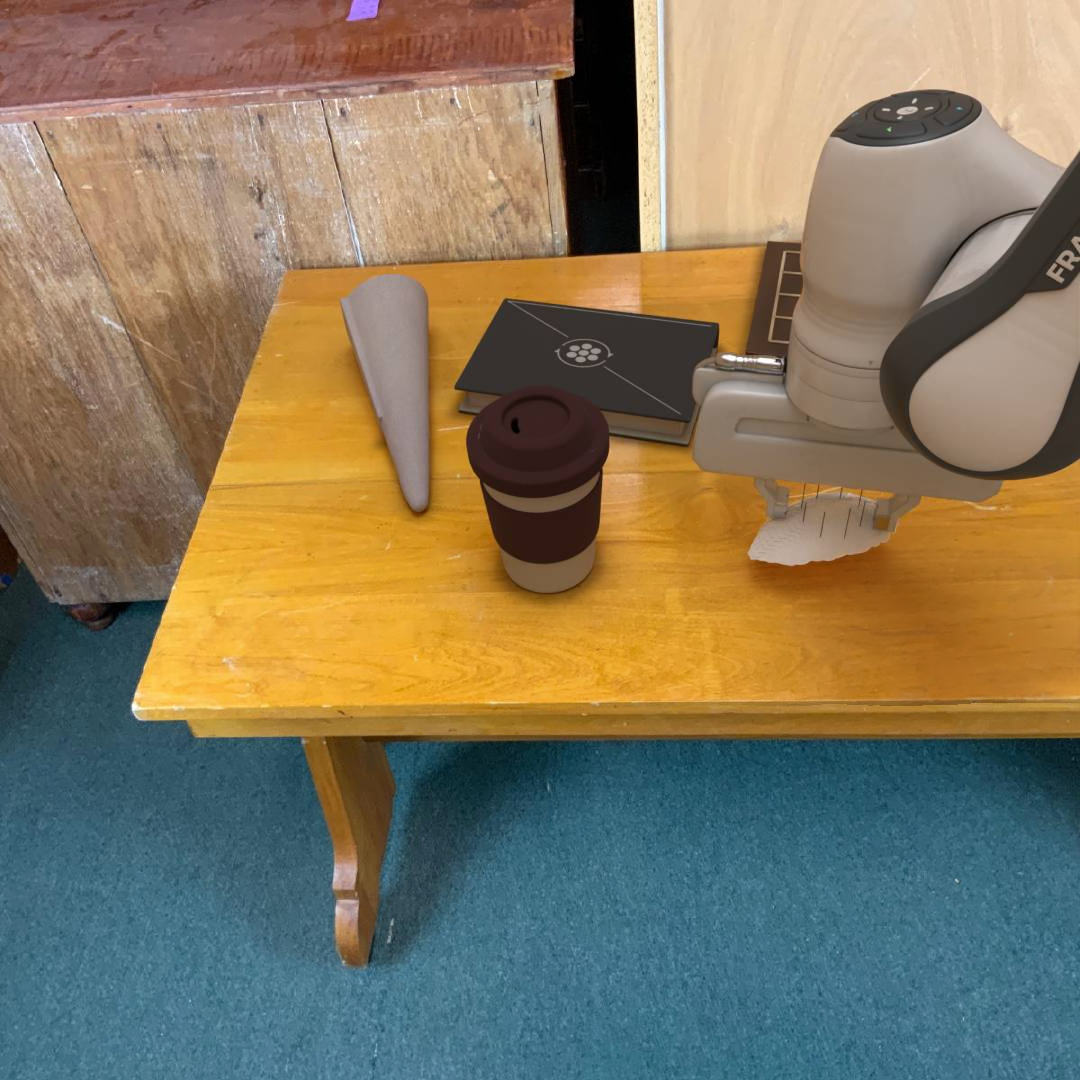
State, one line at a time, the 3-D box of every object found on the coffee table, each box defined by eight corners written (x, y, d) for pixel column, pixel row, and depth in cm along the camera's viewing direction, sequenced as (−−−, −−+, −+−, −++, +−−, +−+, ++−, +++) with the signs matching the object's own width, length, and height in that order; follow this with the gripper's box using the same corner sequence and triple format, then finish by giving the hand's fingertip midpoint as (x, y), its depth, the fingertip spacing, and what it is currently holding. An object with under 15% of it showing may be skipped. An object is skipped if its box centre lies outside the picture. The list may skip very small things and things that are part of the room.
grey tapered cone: (505, 455, 78) (423, 265, 92) (402, 483, 76) (335, 285, 91) (509, 514, 84) (431, 327, 98) (413, 540, 82) (349, 346, 97)
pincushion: (765, 591, 69) (772, 537, 65) (732, 533, 73) (736, 479, 69) (918, 550, 70) (934, 495, 66) (877, 495, 74) (889, 440, 70)
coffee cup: (631, 535, 77) (631, 388, 66) (580, 626, 71) (570, 481, 60) (522, 502, 80) (504, 357, 69) (464, 586, 75) (435, 442, 63)
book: (718, 347, 93) (720, 321, 91) (688, 447, 83) (690, 421, 81) (507, 321, 98) (505, 295, 96) (457, 412, 89) (453, 387, 87)
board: (961, 265, 99) (965, 253, 98) (967, 384, 86) (971, 373, 86) (766, 250, 104) (767, 239, 103) (744, 362, 91) (745, 350, 90)
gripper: (685, 380, 60) (681, 531, 70) (1037, 412, 55) (978, 569, 65) (700, 323, 64) (694, 473, 74) (1029, 348, 59) (975, 505, 70)
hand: (829, 518), depth 70 cm, fingers closed on pincushion, 6 cm apart
